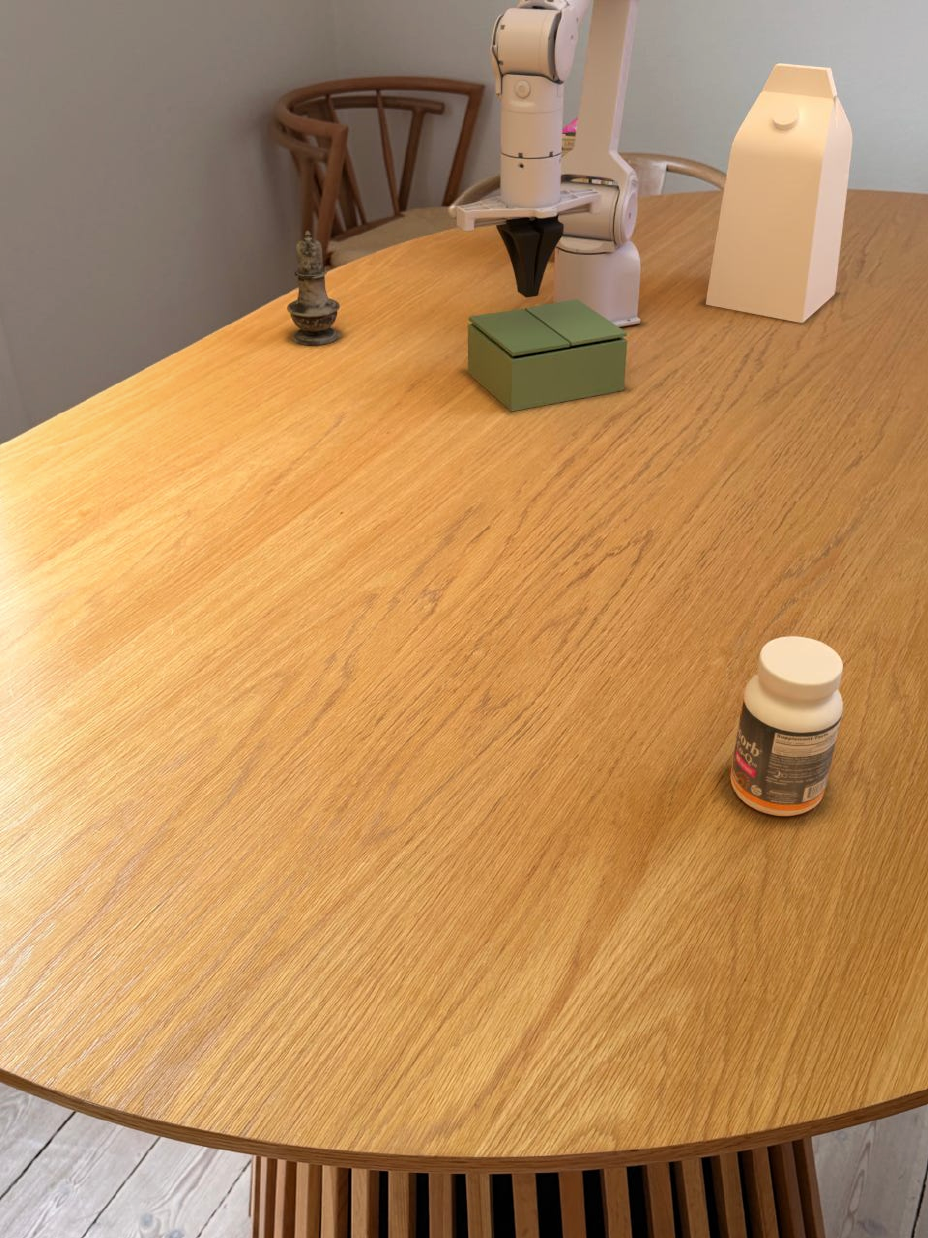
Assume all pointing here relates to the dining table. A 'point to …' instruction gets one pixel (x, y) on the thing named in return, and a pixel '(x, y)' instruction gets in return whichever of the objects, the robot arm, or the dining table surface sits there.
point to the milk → (784, 199)
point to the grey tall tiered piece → (312, 297)
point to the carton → (553, 360)
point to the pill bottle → (788, 727)
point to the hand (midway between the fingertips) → (527, 293)
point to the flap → (518, 332)
